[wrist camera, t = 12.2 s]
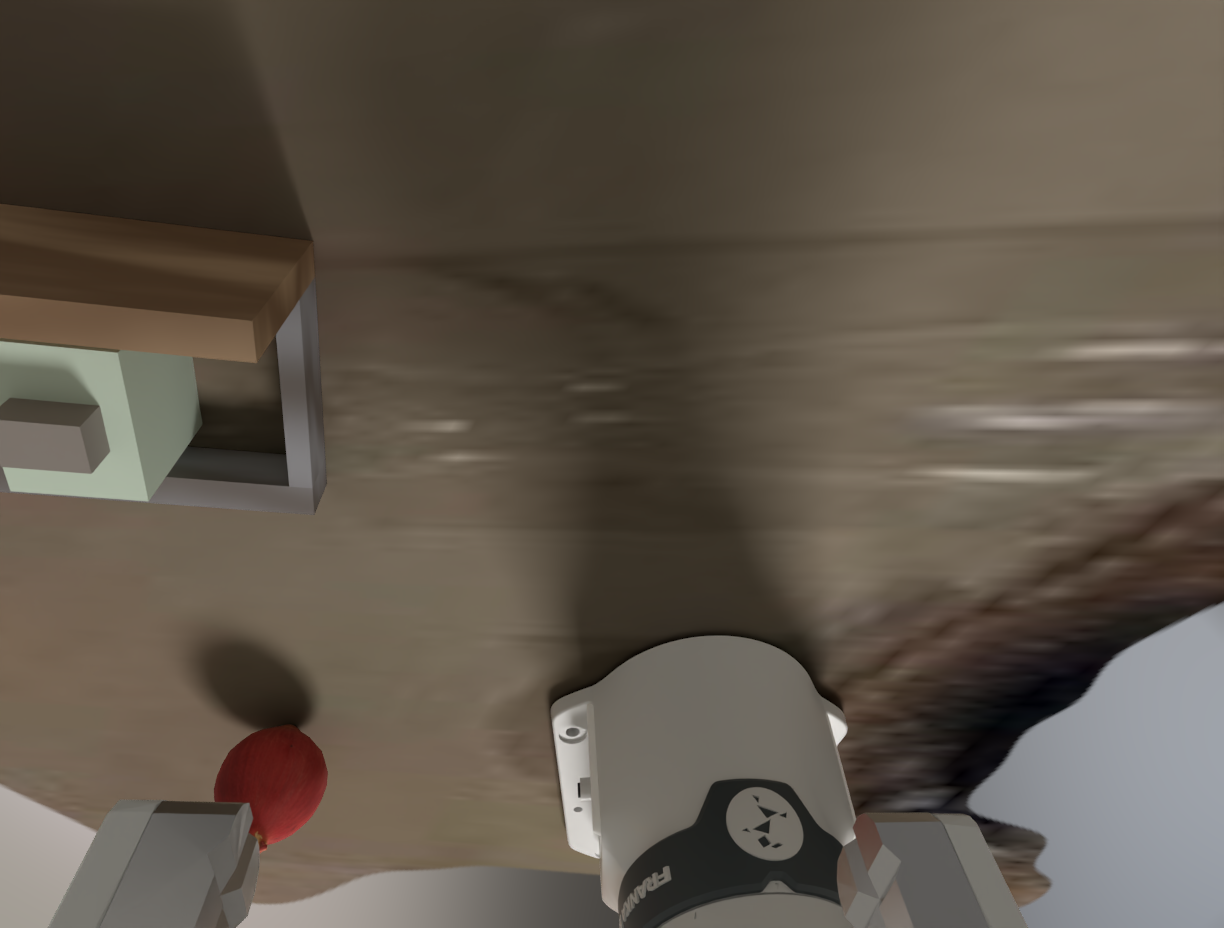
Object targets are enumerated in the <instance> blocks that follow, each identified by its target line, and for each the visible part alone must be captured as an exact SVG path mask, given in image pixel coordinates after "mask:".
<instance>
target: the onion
mask: <svg viewBox="0 0 1224 928" xmlns="http://www.w3.org/2000/svg"><path fill="white" fill-rule="evenodd" d="M327 775H328V771H327V768H326V764H325V760H324V757H323V754H322V751H321V750H320V749H319V748H318V747H317V745H316V744H315V743H314V742H313V741H312V740H311V739H310V737H308V736H307V735H305V734H304V733H302V732H301V731H300V730H299V729H298V728H297V727H296V726H293V725H290V724H287V725H282V726H277V727H272V728H267V729H263V730H260V731H257V732H255V733H252V734H251V735H249V736H248V737H246V738H245V739H244V740H242V741H241V742H240V743H239V744H237V745H236V746H235V747H234V748H233V749H232V750H231V751H230V752H229V753H228V755H227V757H226V759H225V760H224V762H223V764H222V766H221V768H220V771H219V773H218V775H217V779H216V783H215V787H214V799H215V802H239V803H249V804H250V808H251V812H252V815H253V820H252V823H251V826H250V829H249V833H250V834H251V835H253V836H254V837H256V838H257V839H258V845H259V850H260V851H259V853H261V852H262V851H264V850H267V845H268V844H273V843H276V842H278V841H281V840H283V839H285V838H287V837H289V836H290V835H292V834H293V833H295V832H296V831H297V830H298V829H299V828H300V827H302V826H303V825H304V824H305V823H306V822H307V821H308V820H309V819H310V818H311V817H312V816H313V814H314V812H315V811H316V809H317V807H318V805H319V803H320V801H321V799H322V797H323V794H324V791H325V789H326V786H327Z"/></svg>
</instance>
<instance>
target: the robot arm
mask: <svg viewBox="0 0 1224 928" xmlns="http://www.w3.org/2000/svg"><path fill="white" fill-rule="evenodd" d="M551 720H552V727H553V735H554V742H555V750H556V757H557V765H558V772H559V780H560V787H561V795H562V802H563V810H564V817H565V825H566V832H567V839H568V843H569V846H570V847H571V848H572V849H574V850H576V851H578V852H581V853H583V854H586V855H589V856H592V857H596V858H599V859H600V875H601V891H602V899H603V901H604V902H605V904H607V906H609V907H610V908H611V909H613V910H614V911H616V912H618V913H619V919H620V921H619V924H620V927H619V928H1028V927H1027V925H1026V923H1025V921H1024V919H1023V917H1022V914H1021V912H1020V910H1019V908H1018V906H1017V904H1016V902H1015V900H1014V898H1013V896H1012V894H1011V892H1010V890H1009V888H1008V886H1007V884H1006V882H1005V880H1004V878H1003V876H1002V874H1001V872H1000V870H999V868H998V866H997V864H996V862H995V860H994V858H993V856H992V854H991V852H990V850H989V848H988V846H987V844H986V842H985V840H984V837H983V835H982V833H981V831H980V829H979V827H978V825H977V823H976V822H975V821H974V820H973V819H972V818H971V817H970V816H968V815H964V814H930V813H864V814H862V815H860V816H858V817H857V819H856V817H855V814H854V810H853V806H852V802H851V798H850V794H849V791H848V787H847V783H846V779H845V775H844V772H843V768H842V764H841V761H840V757H839V753H838V750H837V745H838V744H839V743H840V741H841V740H842V739H843V738H844V736H845V735H846V733H847V724H846V720H845V715H844V713H843V712H842V711H841V710H840V709H839V708H838V707H837V706H835V705H834V704H832V703H831V702H829V701H828V700H826V699H824V698H823V697H821V696H820V695H819V694H818V692H817V691H816V689H815V687H814V685H813V683H812V681H811V679H810V677H809V675H808V673H807V672H806V670H805V669H804V668H803V667H802V666H801V664H800V663H799V662H797V661H796V660H795V659H794V658H793V657H791V656H790V655H789V654H787V653H786V652H784V651H782V650H780V649H778V648H776V647H774V646H772V645H769V644H767V643H764V642H761V641H757V640H753V639H748V638H743V637H735V636H700V637H692V638H686V639H681V640H677V641H672V642H669V643H665V644H662V645H659V646H656V647H654V648H651V649H649V650H647V651H644V652H642V653H640V654H638V655H636V656H635V657H633V658H631V659H629V660H628V661H626V662H624V663H623V664H622V665H620V666H619V667H618V668H616V669H615V670H614V671H613V672H611V673H610V674H609V675H608V676H606V677H605V678H604V679H603V680H601V681H600V682H598V683H597V684H595V685H593V686H591V687H588V688H585V689H582V690H579V691H577V692H574V693H571V694H569V695H567V696H564V697H562V698H560V699H559V700H557V701H556V702H555V703H554V704H553V705H552V707H551ZM252 820H253V815H252V812H251V808H250V804H249V803H239V802H191V801H166V800H119V801H118V802H117V803H116V804H115V806H114V807H113V808H112V809H111V810H110V811H109V812H108V813H107V815H106V817H105V819H104V821H103V823H102V825H101V826H100V828H99V830H98V832H97V834H96V836H95V838H94V840H93V842H92V844H91V846H90V848H89V850H88V851H87V853H86V855H85V857H84V859H83V861H82V863H81V865H80V867H79V869H78V871H77V872H76V875H75V877H74V878H73V880H72V882H71V884H70V886H69V888H68V890H67V892H66V894H65V896H64V897H63V899H62V901H61V903H60V905H59V907H58V909H57V911H56V913H55V915H54V917H53V919H52V921H51V923H50V924H49V926H48V928H236V927H237V926H238V925H239V924H240V923H241V922H242V921H243V920H244V919H245V918H246V917H247V916H248V912H249V909H250V906H251V903H252V900H253V896H254V893H255V888H256V882H257V877H258V871H259V851H260V850H259V845H258V839H257V838H256V837H254V836H253V835H251V834H250V833H249V829H250V826H251V823H252ZM855 838H856V839H855ZM853 839H854V840H853Z"/></svg>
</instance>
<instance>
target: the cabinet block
mask: <svg viewBox="0 0 1224 928" xmlns="http://www.w3.org/2000/svg"><path fill="white" fill-rule="evenodd" d="M201 426H202V418H201V411H200V404H199V398H198V391H197V385H196V378H195V371H194V365H193V358H192V357H189V356H179V355H169V354H159V353H149V352H138V351H128V350H118V349H108V348H98V347H87V346H77V345H67V344H57V343H47V342H36V341H26V340H16V339H6V338H0V465H1V467H3V470H4V473H5V476H6V479H7V482H8V485H9V488H10V491H14V492H28V493H41V494H55V495H69V496H82V497H96V498H109V499H123V500H136V501H149V500H150V499H151V497H152V496H153V494H154V493H155V492H156V490H157V489H158V487H159V486H160V484H161V483H162V482H163V480H164V479H165V477H166V476H167V474H168V473H169V472H170V470H171V469H172V467H173V466H174V464H175V463H176V462H177V460H178V459H179V457H180V456H181V454H182V453H183V452H184V450H185V449H186V447H187V446H188V444H189V443H190V442H191V440H192V439H193V437H194V436H195V434H196V433H197V432H198V430H199V429H200V427H201Z"/></svg>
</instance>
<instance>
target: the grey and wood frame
mask: <svg viewBox="0 0 1224 928" xmlns="http://www.w3.org/2000/svg"><path fill="white" fill-rule="evenodd" d="M275 335H276V342H277V353H278V364H279V376H280V387H281V399H282V410H283V421H284V433H285V444H286V455H284V454H272V453H260V452H248V451H236V450H224V449H212V448H200V447H188V446H187V447H186V449H185V450H184V452H183V453H182V454H181V456H180V457H179V459H178V460H177V462H176V463H175V464H174V466H173V467H172V469H171V470H170V472H169V473H168V474H167V476H166V477H165V479H164V480H163V482H162V483H161V484H160V486H159V487H158V489H157V490H156V492H155V493H154V494H153V496H152V497H151V499H150V500H149V501H136V500H123V499H109V498H96V497H82V496H69V495H55V494H41V493H28V492H14V491H10V488H9V485H8V482H7V479H6V476H5V473H4V470H3V467H1V465H0V492H8V493H22V494H35V495H49V496H63V497H76V498H90V499H104V500H117V501H131V502H145V503H158V504H172V505H186V506H199V507H213V508H227V509H240V510H254V511H268V512H281V513H295V514H309V515H314V514H315V512H316V509H317V507H318V504H319V502H320V499H321V497H322V494H323V492H324V489H325V487H326V484H327V480H326V462H325V444H324V426H323V408H322V391H321V373H320V355H319V337H318V320H317V302H316V284H315V266H314V249H313V241H309V240H300V239H292V238H284V237H275V236H267V235H259V234H250V233H242V232H234V231H225V230H217V229H208V228H200V227H192V226H183V225H175V224H167V223H158V222H150V221H142V220H133V219H125V218H117V217H108V216H100V215H92V214H83V213H75V212H66V211H58V210H50V209H41V208H33V207H25V206H16V205H8V204H0V338H6V339H16V340H26V341H36V342H47V343H57V344H67V345H77V346H87V347H98V348H108V349H118V350H128V351H138V352H149V353H159V354H169V355H179V356H189V357H200V358H210V359H220V360H230V361H240V362H251V363H257V362H258V360H259V359H260V358H261V356H262V355H263V353H264V352H265V350H266V349H267V347H268V346H269V344H270V343H271V341H272V340H273V338H274V337H275Z"/></svg>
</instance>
